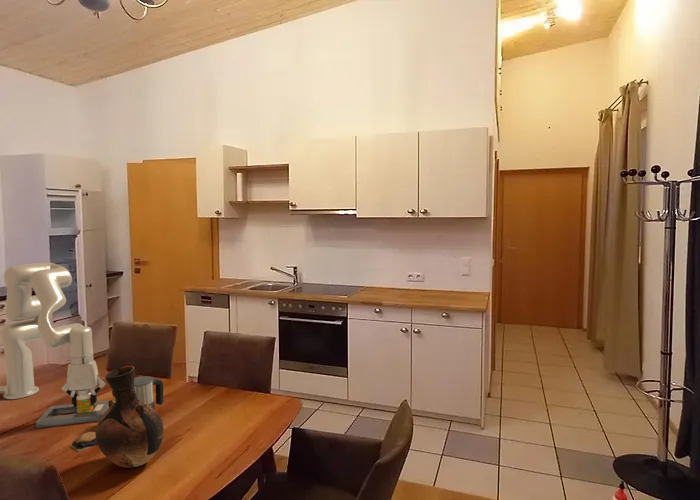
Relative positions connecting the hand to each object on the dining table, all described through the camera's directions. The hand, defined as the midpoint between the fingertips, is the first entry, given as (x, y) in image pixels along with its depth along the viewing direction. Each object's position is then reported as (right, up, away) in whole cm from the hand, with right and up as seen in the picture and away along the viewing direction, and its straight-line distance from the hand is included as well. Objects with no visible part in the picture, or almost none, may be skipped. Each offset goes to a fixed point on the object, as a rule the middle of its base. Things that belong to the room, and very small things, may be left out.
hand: (84, 404), depth 177 cm
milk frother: (+21, -4, 0) cm, 21 cm away
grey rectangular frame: (-3, -4, -1) cm, 5 cm away
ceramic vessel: (+35, -7, -34) cm, 49 cm away
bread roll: (+14, -6, -21) cm, 26 cm away
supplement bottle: (0, -4, 0) cm, 4 cm away
